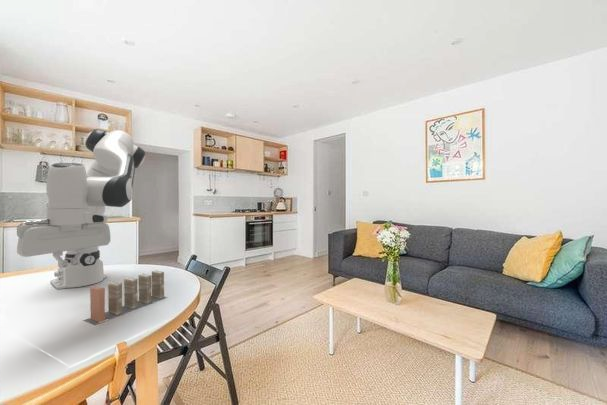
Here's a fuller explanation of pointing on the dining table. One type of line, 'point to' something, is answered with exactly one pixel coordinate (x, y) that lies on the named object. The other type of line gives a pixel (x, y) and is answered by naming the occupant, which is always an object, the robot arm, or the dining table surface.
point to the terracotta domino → (97, 303)
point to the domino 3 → (145, 288)
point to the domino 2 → (130, 293)
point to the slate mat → (124, 311)
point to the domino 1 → (115, 298)
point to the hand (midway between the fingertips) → (69, 265)
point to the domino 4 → (158, 284)
